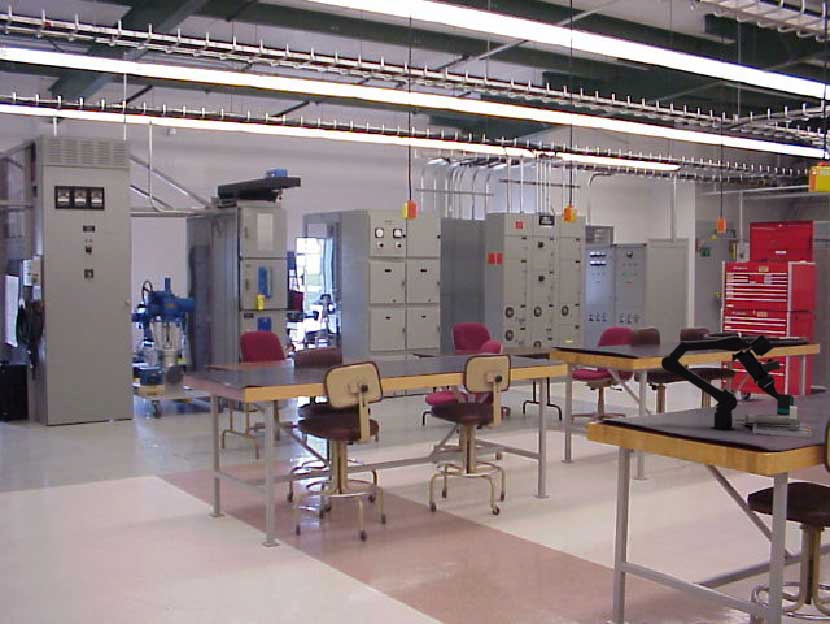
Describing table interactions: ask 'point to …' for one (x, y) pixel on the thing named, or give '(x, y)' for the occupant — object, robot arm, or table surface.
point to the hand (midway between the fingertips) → (777, 397)
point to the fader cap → (793, 416)
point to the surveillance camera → (784, 404)
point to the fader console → (782, 431)
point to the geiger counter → (767, 420)
